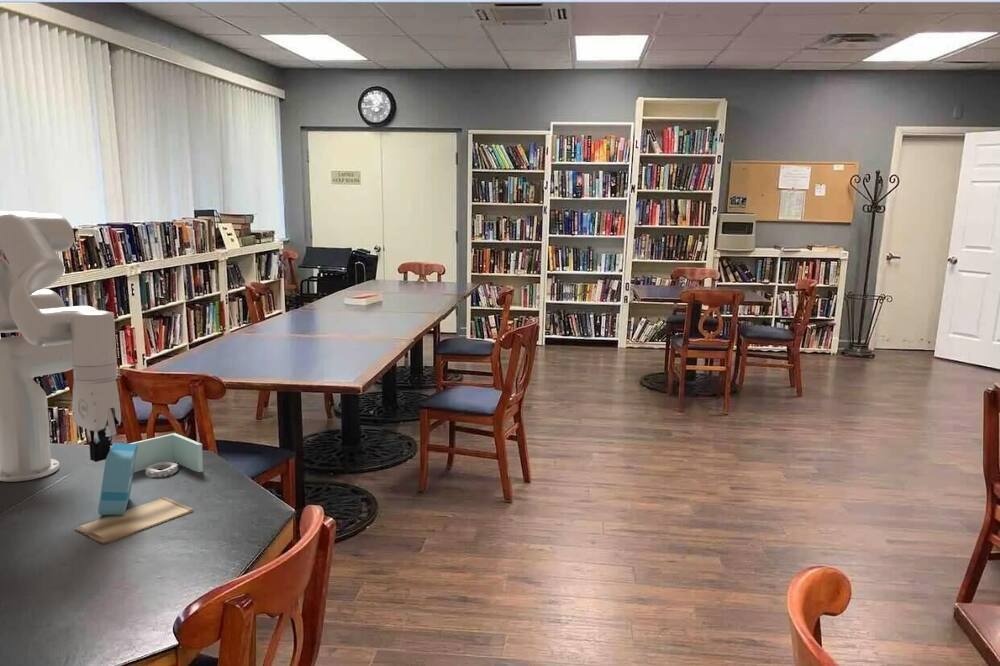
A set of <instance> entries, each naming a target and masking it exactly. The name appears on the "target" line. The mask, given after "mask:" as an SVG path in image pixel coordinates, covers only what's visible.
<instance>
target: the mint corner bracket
mask: <svg viewBox="0 0 1000 666" xmlns="http://www.w3.org/2000/svg"><path fill="white" fill-rule="evenodd" d="M128 444H137V453H136V459H135V466H134V472H133V473H137V472H140V471H144V470H145V472H144V474H145V477H148V478H162V477H161V476H165V475H168V474H169V475H168V476H172V475H173V474H174V473H176V472H177V471H178V470H179V467H178V466H179V465H180V464H181V465H180V466H182V465H183V466H182V467H184V466H185V467H184V468H186V467H187V469H188V468H190V469H189V470H191V469H192V470H191V471H193V470H195V471H197V472H201V471H203V472H204V469H203V468H204V467H203V466H204V465H203V461H204V460H203V443H201V442H199V441H197V440H196V441H195V440H193V439H191V438H189V437H187V436H183V435H181V434H178V433H176V432H174V433H173V432H172V433H169V434H165V435H160V436H157V437H156V436H155V437H152V438H148V439H143V440H139V441H134V442H130V443H128ZM175 462H176V463H175ZM177 463H179V464H177ZM163 468H164V469H163ZM158 469H162V470H158ZM195 471H194V472H195ZM197 472H196V473H197ZM201 473H202V472H201Z"/></svg>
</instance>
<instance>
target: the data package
mask: <svg viewBox="0 0 1000 666" xmlns="http://www.w3.org/2000/svg"><path fill="white" fill-rule="evenodd" d="M136 453H137V444H129V443H125V442H123V443H122V442H113V443H112V445H111V446H110V451H109V453H108V455H107V458H106V459H105V463H104V469H103V476H102V482H101V488H100V489H101V490H100V495H99V496H100V497H99V501H98V509H97V514H98V515H103V516H111V515H124V513H125V510H127V506H128V503H129V500H130V496H131V493H132V492H131V491H132V485H133V478H134V473H135V472H134V466H135V459H136Z"/></svg>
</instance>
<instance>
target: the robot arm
mask: <svg viewBox="0 0 1000 666" xmlns="http://www.w3.org/2000/svg"><path fill="white" fill-rule="evenodd" d="M74 241H75V233H74V229H73V227H72V225H71V223H70V222H69V221H68V220H67V219H66V218H65V217H64V216H62V215H60V214H58V213H47V212H46V213H42V212H35V211H34V212H32V211H11V210H9V211H8V210H0V250H1V251H2V253H3V255H4V256H5V258H6V259H4V258H3V257H2V256H0V334H1V333H2V334H4V333H6V334H7V333H18V332H19V333H20V334H21V335H14V336H8V337H3V338H0V482H12V483H13V482H25V481H32V480H36V479H39V478H43V477H46V476H49V475H51V474H53V473H55V472H57V471H58V470H59V469H60V462H59V461H58V460H57V459H55V458H52V453H51V437H50V422H49V409H48V408H49V407H48V397H47V394H46V392H45V390H44V389H43V388H42V387H41V386H40V385H39V384H38V383H37V382H36V381H35V380H34V378H35V377H40V376H41V377H42V376H45V375H46V376H47V375H52V374H58V373H64V372H68V371H71V370H72V371H73V373H72V374H73V385H72V394H71V395H72V398H71V399H72V404H71V405H72V406H71V407H72V408H71V409H72V422H73V424H74V425H76V426H78V427H81V428H83V429H84V430H86V435H87V441H88V442H89V443H88V446H89V458H90V461H93V462H95V463H98V462H101V461H104V460H105V461H106V458H107V455H108V453H109V451H110V449H111V443H110V442H111V440H112V437H113V436H116V435H117V429H116V428H118V427H119V426H121V420H122V419H121V417H122V415H121V414H122V413H121V412H122V411H121V403H120V395H119V388H118V383H117V380H116V379H118V365H117V364H118V362H117V345H116V324H115V316H114V314H113V313H112V312H110V311H107V310H102V309H101V310H100V309H98V308H95V307H93V306H90V305H75V306H74V305H73V306H72V305H71V306H66V305H65V302H64V300H63V299H62V297H61V296H60V294H58V293H57V292H56V291H54V290H52V289H48V287H49V286H51V285H53V284H55V283H57V281H59V280H60V279H61V277H62V276H63V274H64V272H65V265H64V264H63V261H62V260H61V257H59V255H58V253H61V252H66V251H69V250H70V249H71V248H72V247H73V245H74ZM46 288H47V289H46Z"/></svg>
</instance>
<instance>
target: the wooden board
mask: <svg viewBox="0 0 1000 666" xmlns="http://www.w3.org/2000/svg"><path fill="white" fill-rule="evenodd" d="M192 512H194V508H192V507H190V506H187V505H185V504H183V503H180V502H178V501H176V500H174V499H171V498H169V497H166V496H163V497H161V498H158V499H156V500H152V501H150V502H147V503H143V504H140V505H138V506H134V507H131V508H129V509H126V510H125V513H124V515H107V516H105V517H102V518H100V519H97V520H94V521H91V522H88V523H85V524H81V525H77V526H75V527H74V530H75V529H76V530H75V531H77V530H78V531H77V532H79V531H80V532H79V533H81V532H82V533H81V534H83V533H84V534H83V535H85V534H86V535H88V536H89V537H88V536H87V537H88V538H90V537H91V538H90V539H92V538H93V539H92V540H94V539H95V540H94V541H96V540H97V541H96V542H98V541H99V542H98V543H100V544H102V545H106V544H108V543H112V542H115V541H117V540H119V538H120V539H122V537H123V538H125V537H127V536H130V534H131V535H133V534H136V533H138V531H139V532H141V531H143V530H142V529H144V530H146V529H145V528H147V529H149V528H148V527H150V528H152V527H154V525H155V526H157V524H158V525H161V524H163V523H165V521H166V522H168V521H171V520H174V519H176V518H179V517H181V516H184V515H187V514H189V513H192ZM178 516H179V517H178ZM173 518H174V519H173ZM170 519H171V520H170ZM162 522H163V523H162ZM151 526H152V527H151ZM140 530H141V531H140ZM135 532H136V533H135ZM86 535H85V536H86ZM114 540H115V541H114Z"/></svg>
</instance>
